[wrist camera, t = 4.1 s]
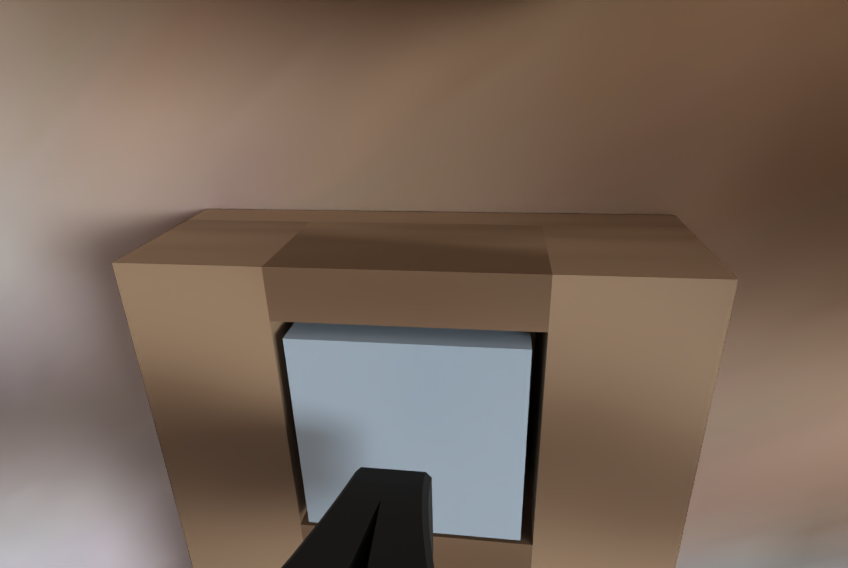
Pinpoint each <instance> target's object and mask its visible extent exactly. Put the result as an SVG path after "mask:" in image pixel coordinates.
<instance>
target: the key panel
mask: <svg viewBox="0 0 848 568" xmlns="http://www.w3.org/2000/svg"><path fill="white" fill-rule="evenodd" d="M112 266H113V269H114V273H115V277H116V281H117V284H118V288H119V292H120V296H121V299H122V303H123V307H124V311H125V314H126V318H127V322H128V326H129V329H130V333H131V337H132V341H133V344H134V348H135V352H136V356H137V359H138V363H139V367H140V371H141V374H142V378H143V382H144V386H145V389H146V393H147V397H148V401H149V404H150V408H151V412H152V416H153V419H154V423H155V427H156V431H157V435H158V438H159V442H160V446H161V450H162V453H163V457H164V461H165V465H166V468H167V472H168V476H169V480H170V483H171V487H172V491H173V495H174V498H175V502H176V506H177V510H178V513H179V517H180V521H181V525H182V528H183V532H184V536H185V540H186V543H187V547H188V551H189V555H190V558H191V562H192V566H193V568H281V567H282V566H283V565H284V564H285V563H286V561H287V560H288V559H289V558H290V557H291V556H292V554H293V553H294V552H295V551H296V549H297V548H298V547H299V546H300V544H301V543H302V542H303V541H304V540H305V538H306V537H307V536H308V535H309V533H310V532H311V531H312V530H313V528H314V527H315V526H316V525H317V522H309V519H308V512H307V505H306V498H305V491H304V484H303V477H302V470H301V463H300V456H299V449H298V442H297V436H296V429H295V422H294V415H293V408H292V401H291V394H290V387H289V380H288V373H287V366H286V359H285V352H284V345H283V338H284V336H285V335H286V333H287V332H288V331H289V329H290V328H291V327H292V325H293V324H294V323H295V322H300V323H325V324H350V325H375V326H400V327H425V328H450V329H475V330H499V331H524V332H530V333H531V344H532V359H531V375H530V391H529V408H528V424H527V440H526V457H525V473H524V489H523V506H522V522H521V538H520V540H510V539H498V538H487V537H476V536H464V535H453V534H441V533H433V562H434V568H675V567H676V562H677V558H678V553H679V548H680V544H681V539H682V535H683V530H684V526H685V521H686V516H687V512H688V507H689V503H690V498H691V494H692V489H693V485H694V480H695V475H696V471H697V466H698V462H699V457H700V453H701V448H702V443H703V439H704V434H705V430H706V425H707V421H708V416H709V411H710V407H711V402H712V398H713V393H714V389H715V384H716V379H717V375H718V370H719V366H720V361H721V357H722V352H723V347H724V343H725V338H726V334H727V329H728V325H729V320H730V315H731V311H732V306H733V302H734V297H735V293H736V288H737V283H738V279H737V278H736V277H735V276H734V275H733V274H732V273H731V272H730V271H729V270H728V269H727V268H726V267H725V266H724V265H723V264H722V263H721V262H720V261H719V260H718V259H717V258H716V257H715V256H714V255H713V254H712V252H711V251H710V250H709V249H708V248H707V247H706V246H705V245H704V244H703V243H702V242H701V241H700V240H699V239H698V238H697V237H696V236H695V235H694V234H693V233H692V232H691V231H690V230H689V229H688V228H687V227H686V226H685V225H684V224H683V223H682V222H681V221H680V220H679V219H678V218H677V217H676V216H675V215H638V214H561V213H485V212H408V211H331V210H255V209H206V210H204V211H202V212H201V213H199V214H197V215H195V216H194V217H192V218H190V219H188V220H186V221H185V222H183V223H181V224H179V225H178V226H176V227H174V228H172V229H171V230H169V231H167V232H165V233H164V234H162V235H160V236H158V237H156V238H155V239H153V240H151V241H149V242H148V243H146V244H144V245H142V246H141V247H139V248H137V249H135V250H134V251H132V252H130V253H128V254H126V255H125V256H123V257H121V258H119V259H118V260H116V261H114V262H112Z"/></svg>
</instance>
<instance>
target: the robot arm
mask: <svg viewBox="0 0 848 568" xmlns="http://www.w3.org/2000/svg"><path fill="white" fill-rule="evenodd" d="M281 568H434V562H433V508H432V477H431V476H430V475H429V474H427V473H426V472H420V471H407V470H394V469H381V468H368V467H360V468H359V469H358V470H357V471H355V473H354V474H353V476H352V477H351V479H350V480H349V482H348V483H347V484H346V486H345V487H344V489H343V490H342V491H341V493H340V494H339V496H338V497H337V498H336V500H335V501H334V502H333V504H332V505H331V506H330V508H329V509H328V510H327V512H326V513H325V514H324V516H323V517H322V518H321V520H320V521H319V522H318V523H317V525H316V526H315V527H314V528H313V530H312V531H311V532H310V533H309V535H308V536H307V537H306V538H305V540H304V541H303V542H302V543H301V544H300V546H299V547H298V548H297V549H296V551H295V552H294V553H293V554H292V556H291V557H290V558H289V559H288V560H287V561H286V563H285V564H284V565H283V566H282V567H281Z"/></svg>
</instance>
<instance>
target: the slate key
mask: <svg viewBox="0 0 848 568" xmlns="http://www.w3.org/2000/svg"><path fill="white" fill-rule="evenodd" d="M283 345H284V352H285V359H286V366H287V373H288V380H289V387H290V394H291V401H292V408H293V415H294V422H295V429H296V436H297V442H298V449H299V456H300V463H301V470H302V477H303V484H304V491H305V498H306V505H307V512H308V519H309V522H317V523H318V522H319V521H320V520H321V518H322V517H323V516H324V514H325V513H326V512H327V510H328V509H329V508H330V506H331V505H332V504H333V502H334V501H335V500H336V498H337V497H338V496H339V494H340V493H341V491H342V490H343V489H344V487H345V486H346V484H347V483H348V482H349V480H350V479H351V477H352V476H353V474H354V473H355V471H357V470H358V469H359V468H360V467H368V468H381V469H394V470H407V471H420V472H426V473H427V474H429V475H430V476H431V477H432V508H433V533H441V534H453V535H464V536H476V537H487V538H498V539H510V540H520V538H521V522H522V506H523V489H524V473H525V457H526V440H527V424H528V408H529V391H530V375H531V359H532V344H531V333H530V332H524V331H499V330H475V329H450V328H425V327H400V326H375V325H350V324H325V323H300V322H295V323H294V324H293V325H292V327H291V328H290V329H289V331H288V332H287V333H286V335H285V336H284V338H283Z"/></svg>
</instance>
